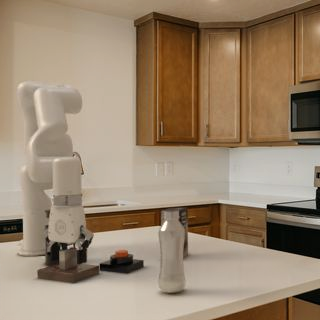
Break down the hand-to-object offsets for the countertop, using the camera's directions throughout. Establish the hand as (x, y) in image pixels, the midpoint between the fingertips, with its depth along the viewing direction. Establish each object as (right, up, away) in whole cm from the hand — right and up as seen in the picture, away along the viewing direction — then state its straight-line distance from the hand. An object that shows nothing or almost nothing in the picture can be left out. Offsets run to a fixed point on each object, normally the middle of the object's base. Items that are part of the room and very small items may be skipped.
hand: (68, 261), depth 127 cm
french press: (-9, -4, +17) cm, 20 cm away
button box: (+13, -4, +8) cm, 16 cm away
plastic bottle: (+31, -4, -16) cm, 35 cm away
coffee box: (+27, -4, +22) cm, 35 cm away
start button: (+13, 0, +8) cm, 15 cm away
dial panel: (0, -4, 0) cm, 4 cm away
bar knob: (0, -2, 0) cm, 2 cm away
